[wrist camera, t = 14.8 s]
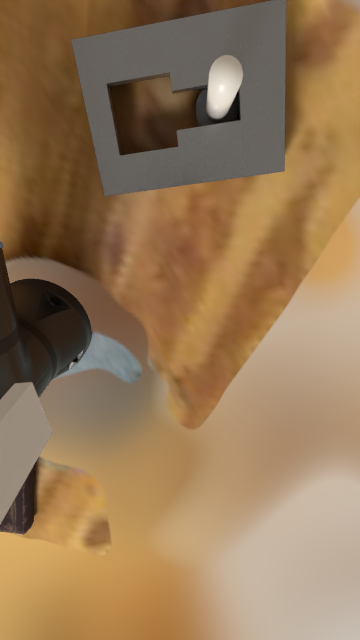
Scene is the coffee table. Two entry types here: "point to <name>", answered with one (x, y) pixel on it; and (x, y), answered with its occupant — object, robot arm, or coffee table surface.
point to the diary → (21, 509)
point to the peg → (220, 93)
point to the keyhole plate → (190, 74)
